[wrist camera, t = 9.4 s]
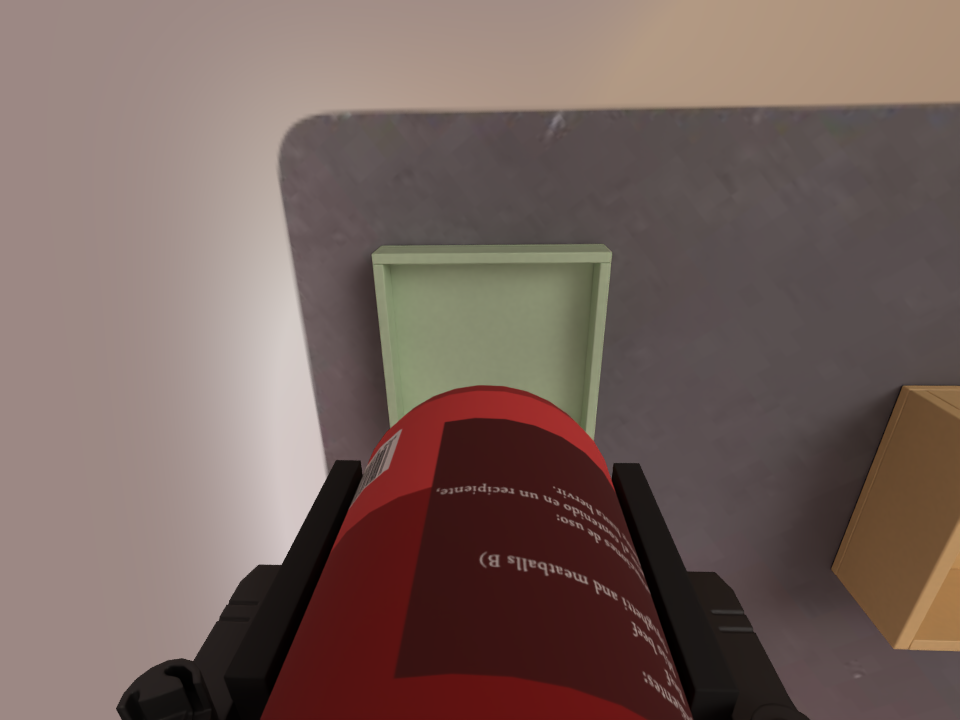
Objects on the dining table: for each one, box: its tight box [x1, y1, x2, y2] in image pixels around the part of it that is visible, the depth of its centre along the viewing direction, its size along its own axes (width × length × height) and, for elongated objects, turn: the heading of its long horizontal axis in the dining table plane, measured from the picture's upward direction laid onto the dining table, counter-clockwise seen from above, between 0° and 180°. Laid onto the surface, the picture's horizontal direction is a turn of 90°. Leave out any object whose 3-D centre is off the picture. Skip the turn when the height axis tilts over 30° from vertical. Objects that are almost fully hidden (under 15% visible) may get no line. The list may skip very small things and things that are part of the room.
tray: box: [372, 244, 612, 441], centre depth 25 cm, size 11×11×2 cm
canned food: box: [260, 385, 693, 720], centre depth 10 cm, size 8×8×11 cm
